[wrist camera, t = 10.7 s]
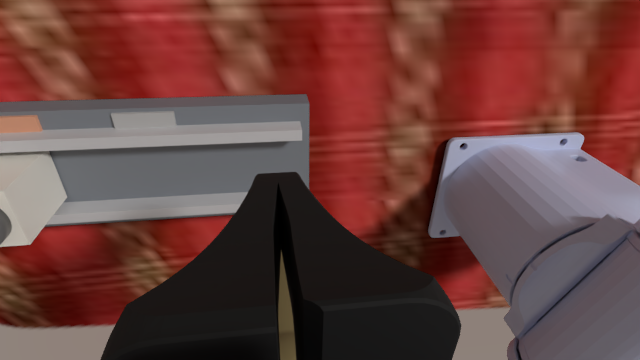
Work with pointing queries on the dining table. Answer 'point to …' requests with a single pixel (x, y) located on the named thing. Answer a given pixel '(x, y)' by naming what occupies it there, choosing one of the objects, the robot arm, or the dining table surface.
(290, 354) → the brown tall tapered piece
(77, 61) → the dining table surface
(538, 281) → the robot arm
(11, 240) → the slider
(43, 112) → the board
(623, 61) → the dining table surface
